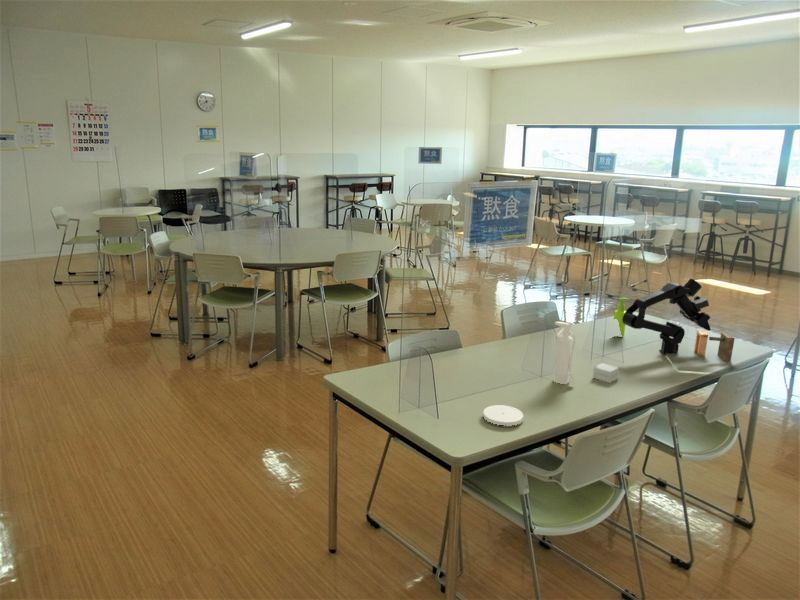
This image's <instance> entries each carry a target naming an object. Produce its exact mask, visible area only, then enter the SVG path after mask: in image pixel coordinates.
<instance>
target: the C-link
mask: <svg viewBox="0 0 800 600" xmlns="http://www.w3.org/2000/svg"><path fill="white" fill-rule="evenodd" d="M708 338H709V334H708V333H706V332H705V331H704V330H697V331H696V335H695V342H694V343H695V344H694V350H693V352H695V353H696V354H697V356H701V357H702V356H703V357H705V356H706V352H707V351H706V350H707V343H708V340H709V339H708Z"/></svg>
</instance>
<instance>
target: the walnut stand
mask: <svg viewBox="0 0 800 600" xmlns="http://www.w3.org/2000/svg"><path fill="white" fill-rule="evenodd" d="M708 338H709V339H708V340H709V341H712V342H713V341H716V342H719V344H718V350H717V356H718V357H719V358H720V359H721V360H722V361H723V362H731V361H732V356H733V350H734V346H735V345H734V344H735V339H736V338H735V337H734V336H733V335H731V334H730V333H729V332H720V337H719V336H708Z"/></svg>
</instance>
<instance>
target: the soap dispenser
mask: <svg viewBox="0 0 800 600" xmlns="http://www.w3.org/2000/svg"><path fill="white" fill-rule="evenodd" d="M618 300H619V303H618V304H617V309H615V310H614V311H613V312H614V314H613V320H614V319H617V320H618V322H619V327H620V331H621V335H622V337H623V336H624V337H625V331H626V325H625V324H623V321H622V319H623V316H624V314H625V312H626V311H627V310H625V309H626V304H625V301H631V299H630V298H628V297H618ZM624 337H623V338H624Z"/></svg>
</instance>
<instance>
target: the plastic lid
mask: <svg viewBox="0 0 800 600" xmlns="http://www.w3.org/2000/svg"><path fill="white" fill-rule="evenodd" d="M482 417H484V418H483V419H484V420H485V421H486V420H487V421H486V422H487V423H489V422H491V423H490V424H492V423H493V424H492V425H495V424H497V425H496V426H499V425H504V426H503V427H513V426H512V425H515V426H518V425H520V424H522V423H523V422H524V413H523V411H521V410H520V409H518V408H515V407H513V406H511V405H510V406H509V405H504V404H503V405H501V404H495V405H494V404H493V405H490V406H487V407H486V408H484V409H483V413H482ZM521 422H522V423H521ZM519 423H520V424H519ZM517 424H518V425H517ZM505 425H506V426H505Z"/></svg>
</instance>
